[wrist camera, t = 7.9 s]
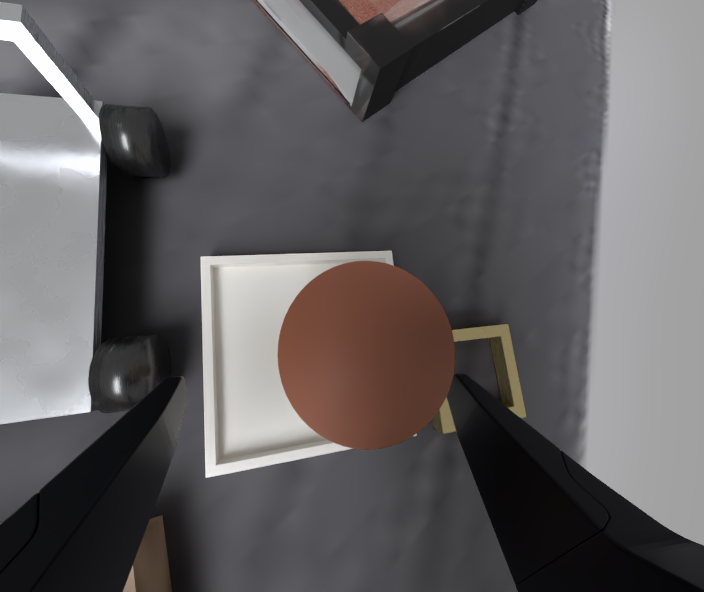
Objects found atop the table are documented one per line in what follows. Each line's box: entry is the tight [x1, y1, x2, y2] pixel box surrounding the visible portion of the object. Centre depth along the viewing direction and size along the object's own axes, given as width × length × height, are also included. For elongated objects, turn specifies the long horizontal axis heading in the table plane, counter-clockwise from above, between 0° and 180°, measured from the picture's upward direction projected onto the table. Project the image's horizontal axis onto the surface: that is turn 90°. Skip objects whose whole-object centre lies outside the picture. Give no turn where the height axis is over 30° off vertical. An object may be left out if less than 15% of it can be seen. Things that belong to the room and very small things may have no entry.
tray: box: [201, 251, 417, 478], centre depth 18 cm, size 12×12×1 cm
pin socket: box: [432, 324, 526, 434], centre depth 20 cm, size 6×6×1 cm
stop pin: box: [277, 261, 455, 450], centre depth 12 cm, size 4×4×13 cm
